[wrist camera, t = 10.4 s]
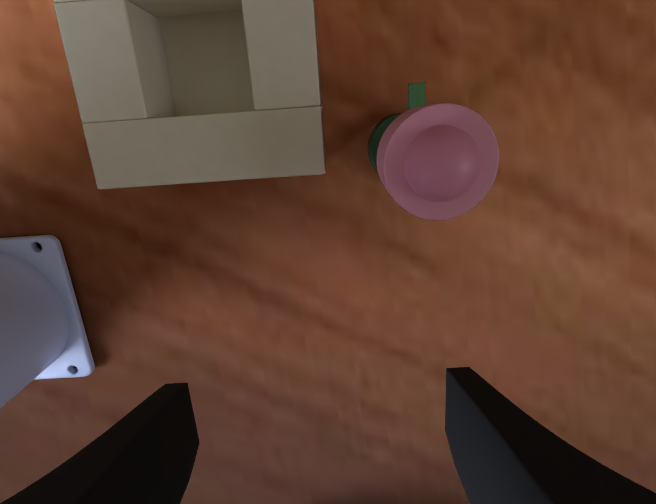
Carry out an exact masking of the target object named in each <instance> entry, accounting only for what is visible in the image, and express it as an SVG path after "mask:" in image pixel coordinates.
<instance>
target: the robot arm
mask: <svg viewBox="0 0 656 504" xmlns="http://www.w3.org/2000/svg"><path fill="white" fill-rule="evenodd" d="M37 242H38V243H39V244H41V246H42V250H41V249H39V248H38V247H37ZM73 366H75V367H77V369H78V370H77V369H75V368H74V367H73ZM94 369H95V365H94V361H93V357H92V354H91V350H90V347H89V343H88V339H87V336H86V332H85V329H84V325H83V321H82V318H81V314H80V311H79V307H78V304H77V300H76V296H75V293H74V289H73V286H72V282H71V278H70V275H69V271H68V268H67V264H66V260H65V257H64V253H63V250H62V246H61V243H60V241H59V240H58V239H57V238H56V237H55V236H53V235H39V236H24V237H8V238H0V409H1V408H2V407H3V406H4V405H5V404H6V403H8V402H9V401H10V400H11V399H12V398H13V397H14V396H15V395H17V394H18V393H19V392H20V391H21V390H22V389H23V388H25V387H26V386H27V385H28V384H29V383H30V382H31V381H32V380H34V379H51V378H69V377H85V376H89V375H90V374H91V373H92V372H93V371H94ZM445 431H446V435H447V438H448V442H449V446H450V450H451V453H452V457H453V460H454V464H455V467H456V469H457V472H458V474H459V477H460V479H461V482H462V484H463V487H464V489H465V492H466V494H467V497H468V499H469V501H470V504H656V493H654V492H652V491H651V490H649V489H647V488H645V487H643V486H641V485H639V484H637V483H635V482H633V481H631V480H630V479H628V478H626V477H624V476H622V475H620V474H618V473H617V472H615V471H613V470H611V469H609V468H608V467H606V466H604V465H602V464H601V463H599V462H597V461H596V460H594V459H593V458H591V457H589V456H588V455H586V454H584V453H583V452H581V451H579V450H578V449H576V448H574V447H573V446H571V445H570V444H568V443H567V442H565V441H564V440H562V439H561V438H559V437H558V436H556V435H555V434H554V433H552V432H551V431H549V430H548V429H547V428H545V427H544V426H542V425H541V424H539V423H538V422H537V421H535V420H534V419H533V418H531V417H530V416H529V415H527V414H526V413H525V412H523V411H522V410H521V409H520V408H518V407H517V406H516V405H514V404H513V403H512V402H511V401H509V400H508V399H507V398H506V397H504V396H503V395H502V394H501V393H500V392H498V391H497V390H496V389H495V388H494V387H492V386H491V385H490V384H489V383H488V382H486V381H485V380H484V379H483V378H482V377H481V376H479V375H478V374H477V373H476V372H475V371H473V370H472V369H471V368H470V367H460V368H447V370H446V413H445ZM198 446H199V438H198V433H197V428H196V423H195V418H194V413H193V408H192V403H191V398H190V393H189V388H188V383H173V384H165V385H164V386H162V387H161V388H159V389H158V390H157V391H156V392H154V393H153V394H152V395H151V396H149V397H148V398H147V399H146V400H144V401H143V402H142V403H141V404H139V405H138V406H137V407H136V408H135V409H133V410H132V411H131V412H130V413H128V414H127V415H126V416H125V417H123V418H122V419H121V420H120V421H118V422H117V423H116V424H115V425H113V426H112V427H111V428H110V429H108V430H107V431H106V432H105V433H103V434H102V435H101V436H99V437H98V438H97V439H95V440H94V441H93V442H91V443H90V444H89V445H87V446H86V447H85V448H83V449H82V450H81V451H79V452H78V453H77V454H75V455H74V456H73V457H71V458H70V459H69V460H67V461H66V462H64V463H63V464H61V465H60V466H59V467H57V468H56V469H54V470H53V471H51V472H50V473H48V474H47V475H45V476H44V477H42V478H41V479H39V480H38V481H36V482H34V483H33V484H31V485H30V486H28V487H27V488H25V489H24V490H22V491H20V492H19V493H17V494H15V495H14V496H12V497H10V498H9V499H7V500H5V501H3V502H2V503H0V504H180V502H181V500H182V497H183V495H184V492H185V490H186V487H187V484H188V482H189V479H190V476H191V472H192V469H193V465H194V462H195V458H196V454H197V450H198Z"/></svg>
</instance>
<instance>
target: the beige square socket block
mask: <svg viewBox="0 0 656 504" xmlns="http://www.w3.org/2000/svg"><path fill="white" fill-rule="evenodd" d="M53 2H55V3H54V8H55V12H56V16H57V21H58V25H59V29H60V33H61V37H62V42H63V46H64V50H65V54H66V58H67V62H68V67H69V71H70V75H71V79H72V83H73V87H74V92H75V96H76V100H77V104H78V108H79V113H80V117H81V121H82V123H83V124H82V126H83V130H84V134H85V138H86V143H87V147H88V151H89V155H90V159H91V163H92V168H93V172H94V176H95V180H96V184H97V188H98V189H113V188H128V187H143V186H158V185H172V184H187V183H202V182H216V181H231V180H246V179H260V178H275V177H290V176H304V175H319V174H325V171H326V153H325V138H324V123H323V109H322V94H321V79H320V65H319V50H318V35H317V21H316V6H315V0H53Z"/></svg>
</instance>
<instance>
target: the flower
mask: <svg viewBox="0 0 656 504" xmlns="http://www.w3.org/2000/svg"><path fill="white" fill-rule="evenodd" d="M368 153H369V158H370V160H371V163H372V164H373V166H374V167H375V169H376V170H377V171H378V174H379V177H380V179H381V182H382V184H383V185H384V187H385V188H386V190H387V191H388V192H389V194H390V195H391V196H392V197H393V199H394V200H395V201H396V202H397V203H398V204H399V206H400V207H402V208H403V209H404V210H405V211H407V212H409V213H410V214H412V215H414V216H417V217H419V218H423V219H428V220H445V219H450V218H454V217H457V216H459V215H462V214H464V213H466V212H467V211H469V210H470V209H472V208H473V207H475V206H476V205H477V204H478V203H479V202H480V201H481V200H482V199H483V198H484V197H485V195H486V194H487V193H488V191H489V190H490V188H491V186H492V184H493V182H494V180H495V177H496V174H497V170H498V164H499V150H498V144H497V140H496V137H495V135H494V132H493V130H492V129H491V127H490V126H489V124H488V123H487V122H486V121H485V119H484V118H483V117H481V116H480V115H479V114H478V113H476V112H475V111H473V110H472V109H470V108H467V107H465V106H462V105H458V104H452V103H440V104H432V105H426V82H421V83H409V84H408V111H406V112H404V113H399V114H394V115H391V116H388V117H386V118H385V119H383V120H382V121H380V122H379V123H378V124H377V125H376V127H375V128H374V130H373V131H372V133H371V136H370V139H369V143H368Z"/></svg>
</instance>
